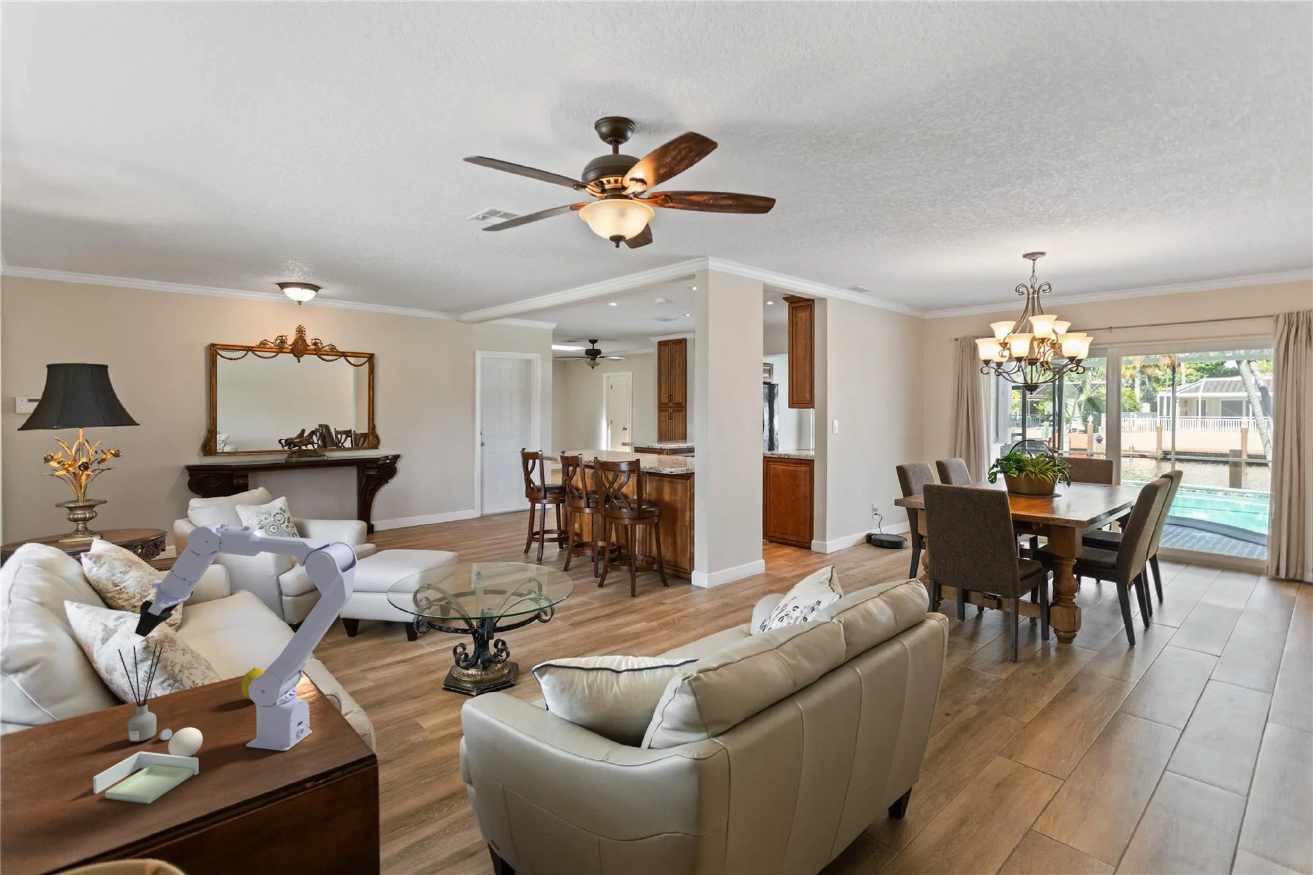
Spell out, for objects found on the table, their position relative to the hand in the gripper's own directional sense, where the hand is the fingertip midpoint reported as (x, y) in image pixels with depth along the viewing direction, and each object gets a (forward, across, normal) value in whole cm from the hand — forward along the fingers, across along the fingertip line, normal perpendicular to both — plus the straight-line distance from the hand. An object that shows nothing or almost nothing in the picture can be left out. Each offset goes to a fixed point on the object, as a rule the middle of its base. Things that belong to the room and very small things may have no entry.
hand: (149, 625), depth 134 cm
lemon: (+14, -11, +27) cm, 32 cm away
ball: (+13, +13, +21) cm, 28 cm away
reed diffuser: (+21, +3, +13) cm, 25 cm away
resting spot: (+13, +23, +18) cm, 32 cm away
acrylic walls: (+14, +22, +18) cm, 31 cm away
